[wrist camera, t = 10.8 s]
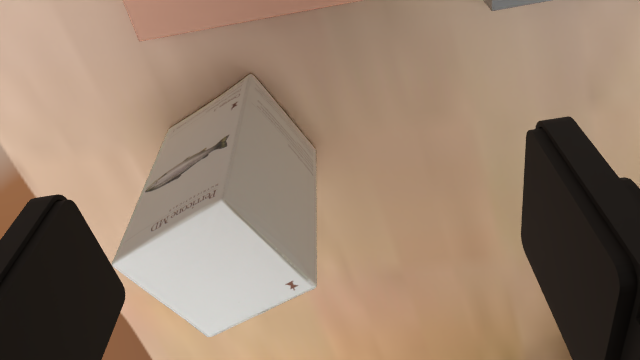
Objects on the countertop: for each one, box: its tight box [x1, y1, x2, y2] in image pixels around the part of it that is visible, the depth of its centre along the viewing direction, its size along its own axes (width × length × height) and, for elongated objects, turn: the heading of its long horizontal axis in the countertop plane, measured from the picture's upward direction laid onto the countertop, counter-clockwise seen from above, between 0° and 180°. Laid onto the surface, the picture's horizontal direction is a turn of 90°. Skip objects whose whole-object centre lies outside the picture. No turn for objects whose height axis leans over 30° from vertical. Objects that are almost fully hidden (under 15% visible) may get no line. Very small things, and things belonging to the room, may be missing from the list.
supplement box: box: [112, 74, 317, 337], centre depth 30 cm, size 7×7×13 cm
